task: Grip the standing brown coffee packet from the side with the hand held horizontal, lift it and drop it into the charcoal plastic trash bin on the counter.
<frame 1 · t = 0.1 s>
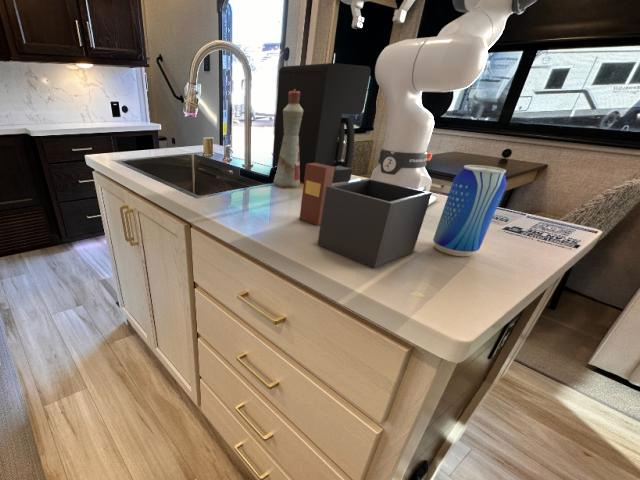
hand: (376, 25, 68), 39 cm above the countertop, tool pointing down, fingers open, 8 cm apart
beer can: (453, 250, 70), on the countertop
packet: (312, 220, 83), on the countertop
coffee maker: (313, 178, 128), on the countertop
bottle: (286, 186, 115), on the countertop
bin: (364, 248, 69), on the countertop
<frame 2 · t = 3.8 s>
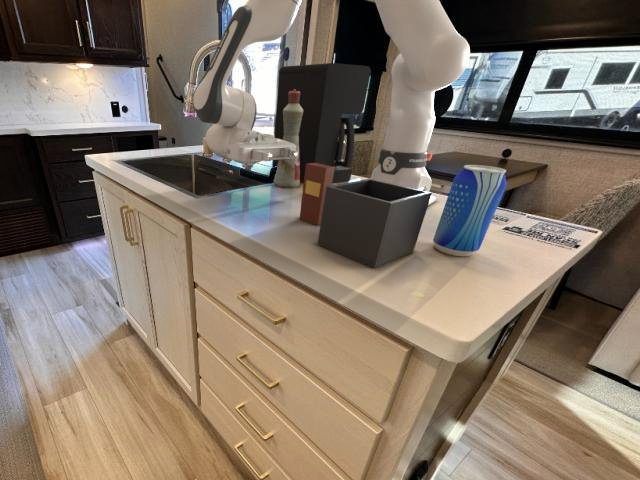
hand: (283, 156, 84), 13 cm above the countertop, tool horizontal, fingers open, 8 cm apart
nothing on the countertop moved.
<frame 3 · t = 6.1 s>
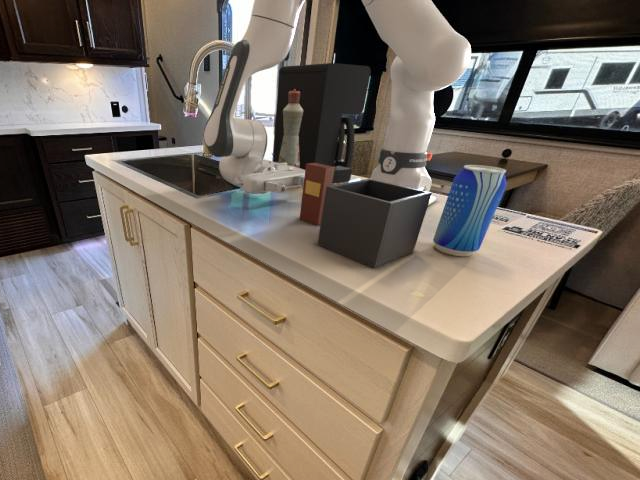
hand: (296, 186, 84), 7 cm above the countertop, tool horizontal, fingers open, 8 cm apart
nothing on the countertop moved.
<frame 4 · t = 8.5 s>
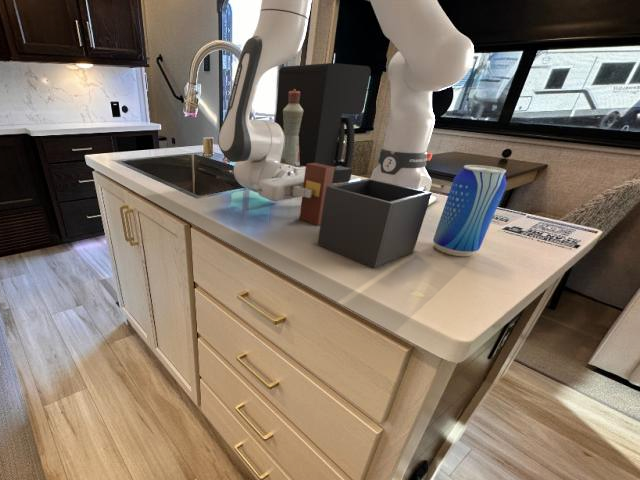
hand: (319, 192, 79), 7 cm above the countertop, tool horizontal, fingers closed on packet, 3 cm apart
packet: (312, 220, 83), on the countertop, touching gripper
everything else where it was.
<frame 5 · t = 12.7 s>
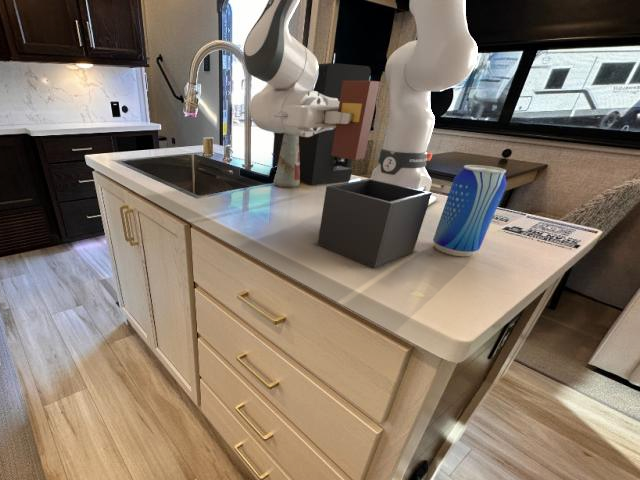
hand: (358, 118, 64), 23 cm above the countertop, tool horizontal, fingers closed on packet, 3 cm apart
packet: (347, 157, 69), point 16 cm above the countertop, touching gripper
everything else where it was.
when the fingers open (16 cm above the countertop, at t = 16.8 s): packet drops 8 cm, resting on bin.
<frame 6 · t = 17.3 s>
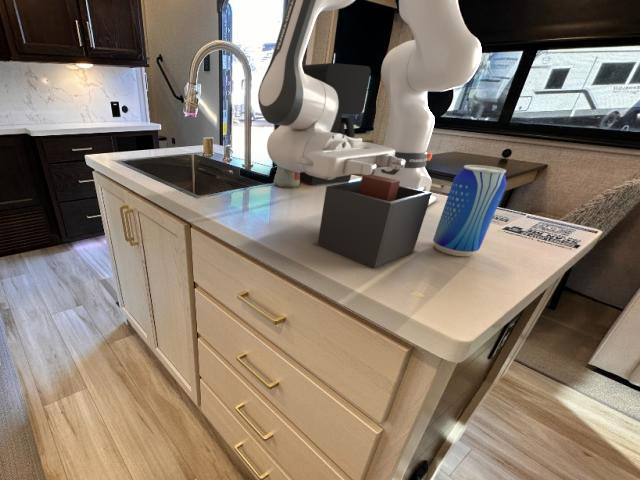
hand: (388, 167, 60), 16 cm above the countertop, tool horizontal, fingers open, 8 cm apart
packet: (365, 244, 69), point 1 cm above the countertop, touching bin
everything else where it was.
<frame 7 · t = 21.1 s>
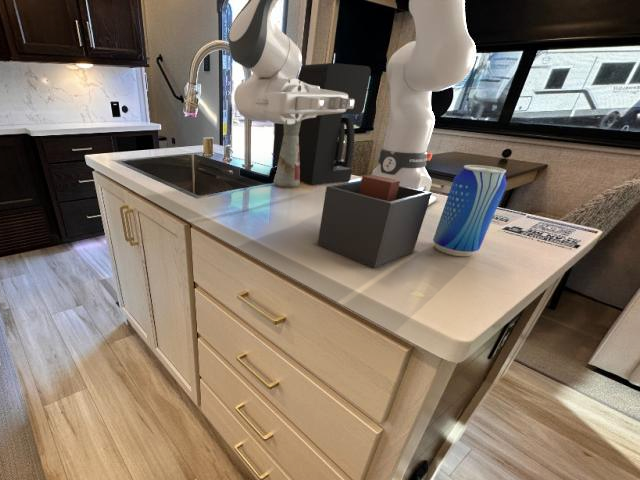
hand: (337, 104, 66), 25 cm above the countertop, tool horizontal, fingers open, 8 cm apart
nothing on the countertop moved.
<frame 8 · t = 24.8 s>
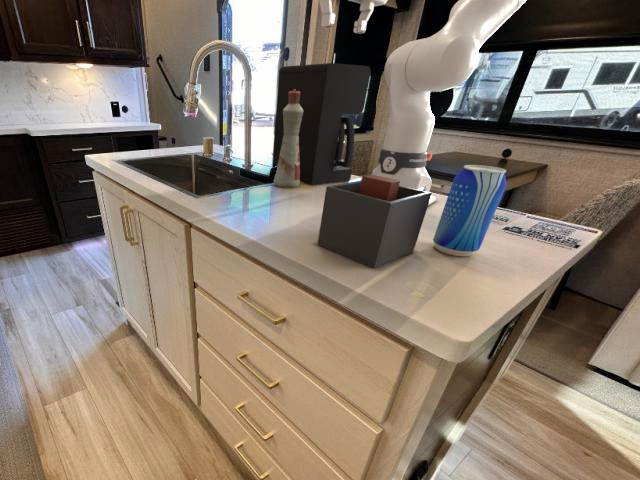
hand: (343, 30, 63), 37 cm above the countertop, tool pointing down, fingers open, 8 cm apart
nothing on the countertop moved.
at the end: packet inside the target area in the bin (0.0 cm from its centre), point 0.8 cm above the bin's base; the gripper is holding nothing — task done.
